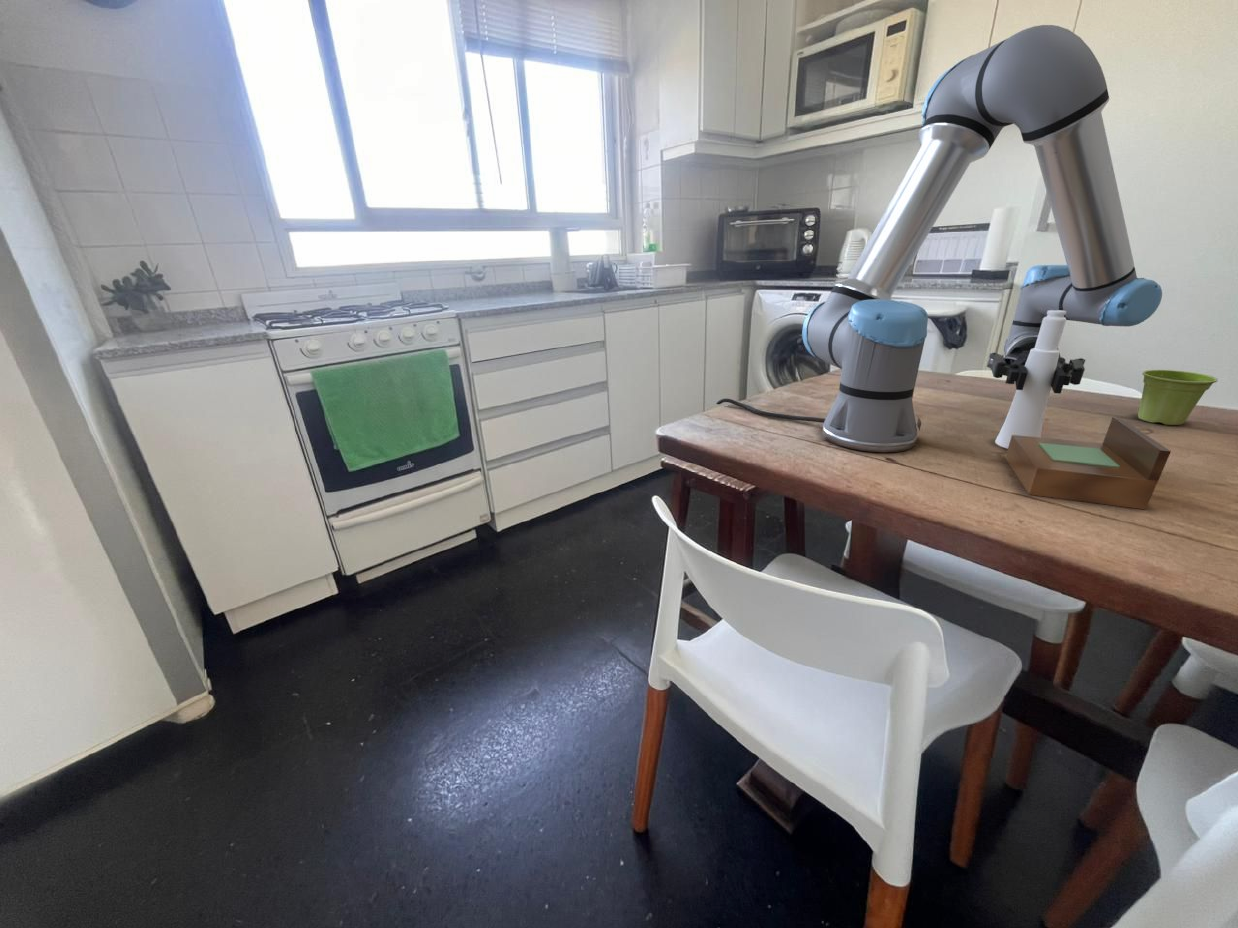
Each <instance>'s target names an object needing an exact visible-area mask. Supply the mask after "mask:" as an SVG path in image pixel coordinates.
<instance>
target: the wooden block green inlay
mask: <svg viewBox="0 0 1238 928" xmlns="http://www.w3.org/2000/svg"><path fill="white" fill-rule="evenodd" d="M1006 450H1007V451H1006V454H1005V457H1004V459H1005V460H1006V462H1007V464H1008V465H1009V466H1010V468H1011V469H1012V471H1013V472H1014V474H1015V475H1016V477H1017V479H1018V480H1019V482H1020V483H1021V484H1022V486H1023V488H1024V489H1025V491H1026V492H1027V494H1028V495H1029V496H1030V495H1031V496H1036V497H1037V496H1039V497H1044V498H1045V497H1046V498H1054V499H1059V500H1068V501H1076V502H1085V503H1091V504H1101V505H1107V506H1115V507H1122V508H1129V509H1130V508H1131V509H1139V510H1147V508H1148V505H1149V503H1150V501H1151V498H1152V496H1153V493H1154V492H1155V489H1156V487H1157V484H1158V483H1159V480H1160V478H1161V475H1162V473H1163V471H1164V469H1165V466H1166V464H1167V463H1168V462H1167V461H1168V459H1169V458H1170V455H1171V452H1172V450H1170V449H1168V448H1167V447H1165V446H1164V445H1162V444H1161V443H1159V442H1158V441H1156V440H1155V439H1154V438H1152V437H1150V436H1149V435H1147V434H1146V433H1144V432H1143V431H1141V430H1140V429H1139V428H1137V427H1136V426H1134V425H1132V424H1131V423H1129V422H1128V421H1126V420H1125V419H1124V418H1122V417H1114V416H1113V417H1112V418H1111V420H1110V423H1109V426H1108V428H1107V431H1106V434H1105V436H1104V439H1103V442H1095V441H1094V442H1093V441H1083V440H1071V439H1061V438H1059V439H1058V438H1051V437H1041V438H1040V437H1029V436H1018V435H1012V437H1011V440H1010V443H1009V447H1008V449H1006Z"/></svg>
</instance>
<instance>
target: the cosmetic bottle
mask: <svg viewBox="0 0 1238 928" xmlns="http://www.w3.org/2000/svg"><path fill="white" fill-rule="evenodd" d="M1047 314H1048V315H1047V317H1044V318H1043V320H1042V324H1041V327H1040V331H1039V334H1038V338H1037V341H1036V345H1035V348H1033V349H1031V350H1030V353H1029V356H1028V358H1027V361H1026V364H1025V367H1026V369H1027V377H1026V380H1025V383H1024V387H1023V390H1016V391H1015V393H1014V395H1013V399H1012V402H1011V404H1010V407H1009V410H1008V412H1007V415H1006V418H1005V420H1004V422H1003V424H1002V427H1001V429H1000V431H999V433H998V435H997V436H996V438H995V440H994V442H995V444H996V445H997V446H998V447H1001V448H1004V449H1006V450H1008V447H1009V443H1010V440H1011V437H1012V435H1018V436H1029V437H1040V438H1042V432H1043V425H1044V420H1045V415H1046V410H1047V406H1048V403H1049V398H1050V394H1051V390H1052V387H1051V385H1052V382H1053V378H1054V375H1055V371H1056V367H1057V362H1058V358H1059V354H1060V355H1061V350H1059V344H1060V341H1061V338H1062V336H1063V332H1064V329H1065V326H1066V322H1067V320H1066V318H1065V317H1064V315H1065V314H1066V311H1062V310H1049V311H1047ZM1057 348H1058V350H1057Z"/></svg>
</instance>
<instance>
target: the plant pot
mask: <svg viewBox="0 0 1238 928" xmlns="http://www.w3.org/2000/svg"><path fill="white" fill-rule="evenodd" d="M1141 374H1142V375H1143V389H1142V394H1141V398H1140V403H1139V408H1138V413H1137V417H1138V419H1139V420H1141V421H1145V422H1147V423H1152V424H1153V423H1161V424H1163V425H1165V426H1181V425H1184V424H1185V423H1186V421H1187V419H1188V417H1189V416H1190V415H1191V413H1192V412H1193V410H1194V409H1195V407H1196V406H1197V404H1198V403H1199V401H1200V400H1201V399H1202V397H1203V396H1204V394H1205V393H1206V391H1208V390H1209V389H1210V388H1211V386H1212V385H1213V384H1215V383H1217V382H1218V381H1219V378H1217V377H1215V376H1213V375H1209V374H1205V373H1200V372H1192V371H1185V370H1173V369H1171V370H1170V369H1148V370H1143V371H1142V373H1141Z"/></svg>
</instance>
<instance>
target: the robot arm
mask: <svg viewBox="0 0 1238 928" xmlns="http://www.w3.org/2000/svg"><path fill="white" fill-rule="evenodd" d="M1109 101H1110V94H1109V91H1108V84H1107V80H1106V77H1105V74H1104V72H1103V69H1102V66H1101V64H1100V62H1099V60H1098V58H1097V57H1096V55H1095V53H1094V52H1093V51H1092V49H1091V48H1090V47H1089V46H1088V44H1087V43H1086V42H1085V41H1084V40H1083V39H1082V38H1081V36H1079V35H1077V34H1076V33H1074V32H1073V31H1072V30H1070V29H1068V28H1066V27H1062V26H1059V25H1055V24H1041V25H1040V24H1039V25H1033V26H1031V27H1027V28H1025V29H1022V30H1020V31H1018V32H1015V33H1014V34H1013V35H1010V36H1009V37H1007V38H1005V39H1004V40H1001V41H1000V42H997V43H995V44H993V45H991V46H989V47H987V48H985V49H983V50H981V51H978V52H977V53H974V54H972V55H969V56H967V57H966V58H964V59H961V60H960V61H958V62H957V63H956V64H955V65H953V66H952V67H951V68H949V69H948V70H946V71H945V72H944V73H942V74H941V75H940V76H939V78H938V79H936V81H935V82H934V84H933V85H932V87H931V88H930V89H929V91H928V93H927V95H926V97H925V100H924V102H923V104H922V108H921V117H922V121H921V128H920V129H919V130H918V135H917V139H918V141H919V144H920V148H919V150H918V151H917V153H916V155H915V157H914V159H913V161H912V162H911V164H910V166H909V167H908V169H907V171H906V173H905V175H904V177H903V178H902V180H901V182H900V184H899V186H898V187H897V189H896V190H895V193H894V195H893V196H892V197H891V200H890V202H889V203H888V205H887V206H886V209H885V211H884V212H883V214H882V216H881V217H880V220H879V221H878V223H877V225H876V227H874V230H873V232H872V234H871V235H870V237H869V239H868V241H867V243H866V244H865V246H864V248H863V250H862V251H861V254H860V255H859V257H858V259H857V260H856V263H855V264H854V266H853V268H852V269H851V271H850V273H849V275H848V277H847V278H846V279H844V280H843V281H840V282H838V283H835V284H834V286H833V287H832V289H831V290H830V293H829V294H828V296H827V298H826V299H825V301H822V302H821V303H819V304H817V305H816V306H814V307H813V308H812V309H810V311H809V312H808V313H807V315H806V317H805V319H804V322H803V325H802V330H801V338H802V341H803V344H804V347H805V349H806V350H807V352H808V353H809V354H810V355H811V356H813V357H814V358H815V359H816V360H818V361H819V362H822V363H824V364H826V365H831V366H833V367H835V368H838V369H841V373H840V380H839V387H838V393H837V396H836V397H835V399H834V402H833V403H832V406H831V407H830V409H829V411H828V413H827V415H826V417H824V418H823V417H813V416H804V415H803V416H801V415H791V414H784V413H777V412H776V413H775V412H769V411H765V410H760V409H757V408H755V407H752V406H751V405H748V404H745V403H743V402H742V403H741V402H739V401H738V400H734V399H731V398H721V399H719V400H717V402H716V404H715V405H721V404H723V403H728V404H732V405H734V406H736V407H739V408H743V409H745V410H747V411H750V412H752V413H755V414H757V415H760V416H764V417H765V416H766V417H770V418H776V419H784V420H793V421H801V422H802V421H804V422H805V421H806V422H814V423H823V424H822V430H821V431H822V432H821V434H822V437H823V438H824V439H826V440H827V441H829V442H830V443H832V444H835V445H837V446H839V447H844V448H847V449H852V450H856V451H861V452H862V451H863V452H870V453H895V452H896V453H897V452H903V451H906V450H910V449H912V448H913V447H915V445H916V442H917V438H918V431H919V432H920V431H921V427H922V420H921V419H920V417H919V416H918V417H917V421H916V416H915V410H914V403H913V397H914V392H915V388H916V382H917V379H918V375H919V374H918V372H919V369H920V365H921V358H922V355H923V351H924V346H925V341H926V338H927V336H928V322H929V315H928V312H927V310H926V309H925V308H923V307H922V306H920V305H918V304H915V303H912V302H908V301H903V300H901V301H899V300H895V299H894V300H893V299H892V296H893V294H894V293H895V291H896V289H897V288H898V286H899V284H900V283H901V281H902V279H903V278H904V276H905V275H906V273H907V271H908V270H909V267H910V266H911V264H912V262H913V260H914V258H915V257H916V256H917V254H918V252H919V251H920V249H921V247H922V245H923V244H924V243H925V241H926V239H927V237H928V235H929V234H930V232H931V230H932V228H933V227H934V225H935V223H936V222H937V221H938V219H939V217H940V215H941V214H942V211H943V210H944V208H945V207H946V205H947V203H948V201H949V200H950V199H951V197H952V195H953V193H954V192H955V190H956V188H957V186H958V185H959V183H960V181H961V180H962V178H963V177H964V174H965V173H966V171H967V170H968V168H969V166H970V165H971V163H974V162H976V161H978V160H981V159H982V158H984V157H986V156H987V154H988V153H989V151H990V150H991V148H992V146H993V145H994V143H995V141H996V140H997V138H998V137H999V135H1000V133H1001V131H1002V130H1003V129H1004V128H1005V127H1009V126H1011V125H1014V126H1016V127H1017V128H1018V129H1019V132H1020V135H1021V138H1022V141H1023V144H1027V145H1032V146H1033V147H1034V150H1035V155H1036V158H1037V161H1038V162H1037V163H1038V164H1039V168H1040V172H1041V176H1042V179H1043V183H1044V187H1045V191H1046V194H1047V197H1048V201H1049V204H1050V208H1051V212H1052V215H1053V219H1054V223H1055V226H1056V231H1057V233H1058V237H1059V242H1060V244H1061V248H1062V252H1063V255H1064V259H1065V263H1066V264H1039V265H1033V266H1031V267H1029V268H1028V269H1027V271H1026V273H1025V277H1024V279H1023V282H1022V286H1021V287H1020V289H1019V290H1020V292H1019V296H1018V300H1017V304H1016V308H1015V311H1014V312H1015V313H1014V315H1013V320H1012V323H1011V325H1010V329H1009V332H1008V337H1007V338H1006V340H1005V343H1004V346H1003V353H1004V354H999V353H997V352H990V353H989V356H988V360H987V364H986V367H987V368H989V369H991V373H992V376H993V378H996V379H1002V378H1003V376H1005V377H1006V379H1005V384H1007V385H1014V384H1015V387H1016V388H1015V389H1016V390H1023V387H1024V383H1025V380H1026V377H1027V369H1026V367H1025V364H1026V361H1027V358H1028V356H1029V353H1030V350H1031V349H1033V348H1035V345H1036V341H1037V338H1038V334H1039V331H1040V327H1041V324H1042V320H1043V318H1044V317H1047V315H1048V314H1047V311H1049V310H1062V311H1066V314H1065V315H1064V317H1065V318H1066V321H1072V322H1079V323H1080V322H1081V323H1086V324H1087V323H1088V324H1095V325H1101V326H1103V327H1133V326H1134V327H1135V326H1137V325H1140V324H1141V323H1143V322H1145V321H1146V320H1148V319H1149V318H1150V317H1152V315H1154V314H1155V312H1156V311H1157V310H1158V308H1159V306H1160V305H1161V303H1162V298H1163V289H1162V287H1161V285H1160V284H1159V283H1157V281H1155V280H1153V279H1148V278H1145V277H1138V276H1137V271H1136V267H1135V262H1134V258H1133V252H1132V248H1131V244H1130V238H1129V233H1128V229H1127V225H1126V220H1125V215H1124V212H1123V207H1122V202H1121V198H1120V193H1119V188H1118V183H1117V178H1116V174H1115V170H1114V165H1113V160H1112V156H1111V151H1110V147H1109V143H1108V142H1109V141H1108V137H1107V133H1106V128H1105V123H1104V119H1103V114H1102V112H1103V110H1104V108H1105V107H1106V106H1107V104H1108V103H1109ZM1057 350H1059V347H1058V348H1057ZM1085 363H1086V359H1085V358H1083V357H1079V358H1075V359H1074V358H1071V359H1069V361H1066V358H1064V357H1063V356H1061V353H1060V354H1059V358H1058V362H1057V367H1056V371H1055V375H1054V378H1053V382H1052V385H1051V390H1052V392H1053V394H1060V395H1061V393H1062V391H1063V388H1064V386H1070V384H1071V385H1074V386H1078V385H1080V384H1081V382H1082V379H1083V376H1084V373H1085V370H1086V368H1085Z"/></svg>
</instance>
